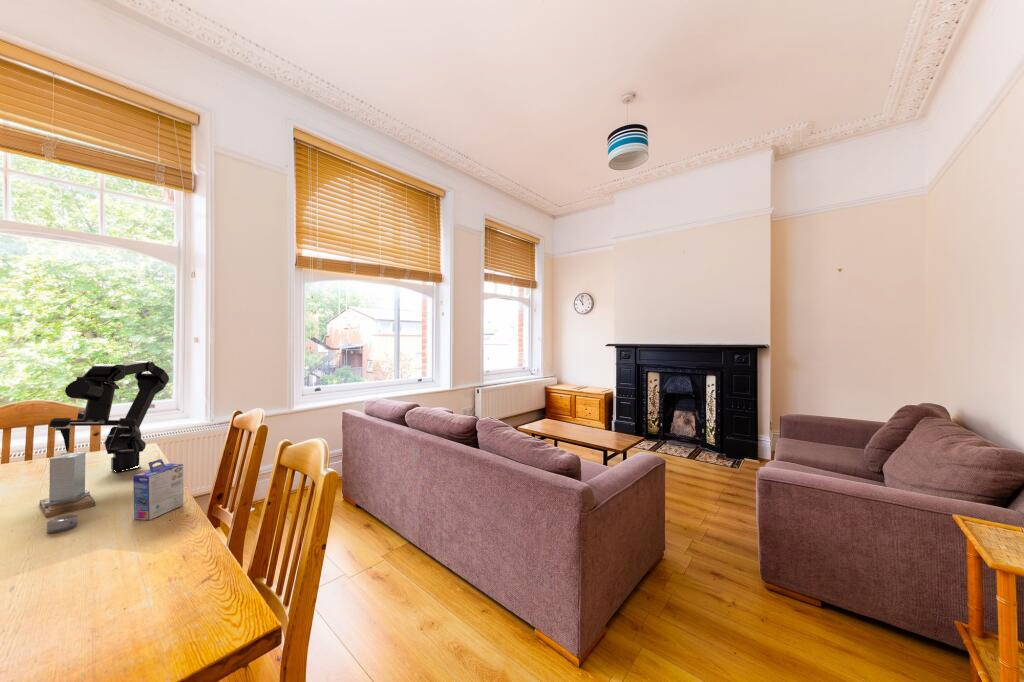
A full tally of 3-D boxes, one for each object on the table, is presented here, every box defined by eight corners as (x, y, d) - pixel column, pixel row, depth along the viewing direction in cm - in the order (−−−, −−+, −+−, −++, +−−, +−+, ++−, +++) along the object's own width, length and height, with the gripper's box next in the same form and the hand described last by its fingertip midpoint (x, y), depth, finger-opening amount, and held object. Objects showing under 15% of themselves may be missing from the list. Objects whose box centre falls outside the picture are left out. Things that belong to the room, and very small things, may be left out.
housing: (59, 496, 110) (60, 452, 110) (89, 493, 113) (90, 450, 113) (43, 506, 104) (44, 459, 104) (75, 502, 107) (76, 457, 107)
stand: (86, 493, 116) (86, 489, 116) (95, 505, 109) (95, 500, 109) (39, 504, 109) (39, 499, 109) (46, 517, 101) (46, 512, 101)
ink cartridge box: (168, 503, 112) (168, 455, 112) (184, 504, 111) (185, 456, 111) (131, 519, 102) (132, 466, 102) (149, 521, 101) (150, 467, 101)
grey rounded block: (74, 522, 100) (75, 513, 100) (79, 528, 97) (79, 518, 97) (45, 530, 96) (45, 520, 96) (48, 536, 93) (48, 526, 93)
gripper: (137, 404, 137) (128, 449, 133) (57, 402, 123) (45, 452, 119) (139, 401, 129) (130, 448, 126) (55, 399, 116) (42, 452, 112)
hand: (89, 450), depth 121 cm, fingers open, 9 cm apart
